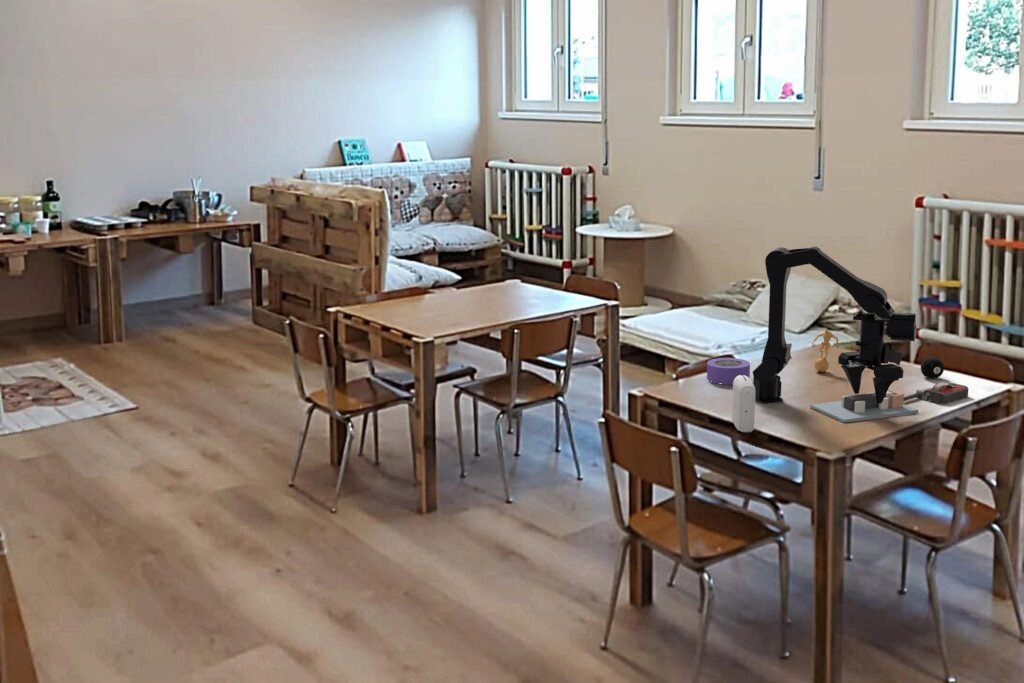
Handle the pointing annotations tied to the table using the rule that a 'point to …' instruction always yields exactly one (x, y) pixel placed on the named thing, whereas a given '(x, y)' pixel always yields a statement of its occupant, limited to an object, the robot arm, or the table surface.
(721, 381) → the tape roll
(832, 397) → the table surface
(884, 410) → the board
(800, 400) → the table surface
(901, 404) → the end holder
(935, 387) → the walkie-talkie
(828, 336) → the figurine
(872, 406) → the rod
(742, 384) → the photo printer
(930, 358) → the billiard ball
